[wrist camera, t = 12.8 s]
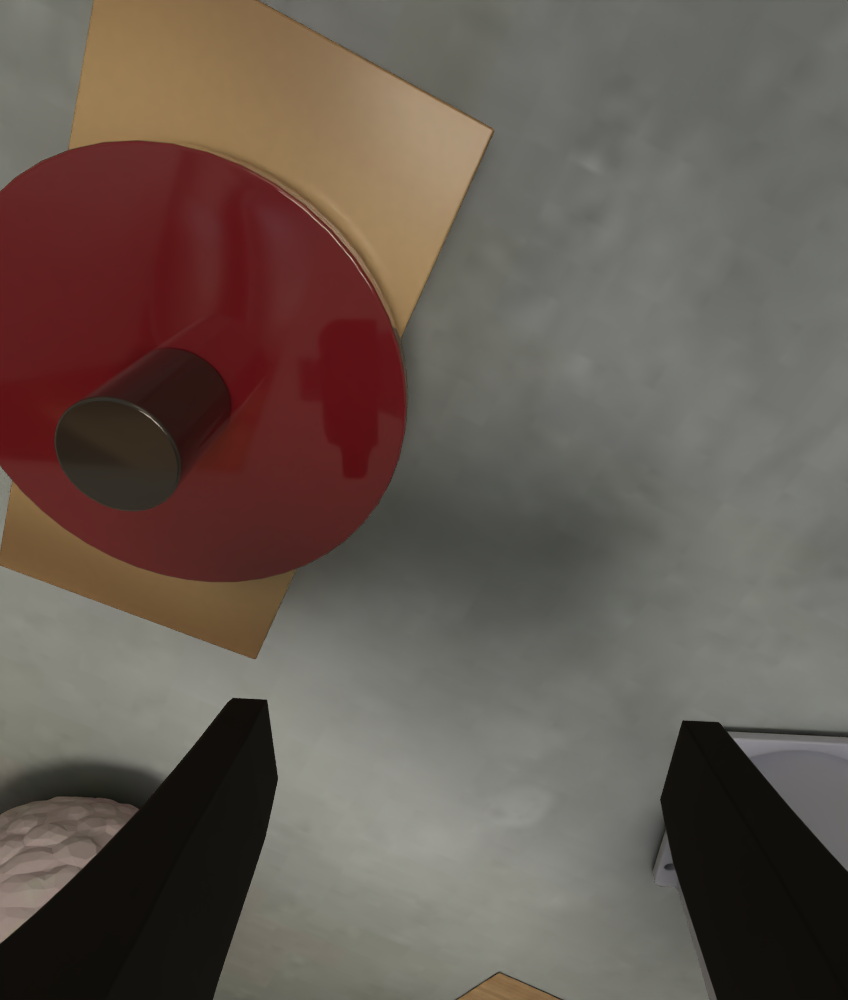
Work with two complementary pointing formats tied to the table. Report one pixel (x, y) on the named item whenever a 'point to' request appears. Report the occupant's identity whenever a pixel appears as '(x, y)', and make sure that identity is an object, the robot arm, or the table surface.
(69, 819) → the decorative item
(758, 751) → the robot arm
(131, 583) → the wooden block
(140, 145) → the lid
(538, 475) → the table surface
